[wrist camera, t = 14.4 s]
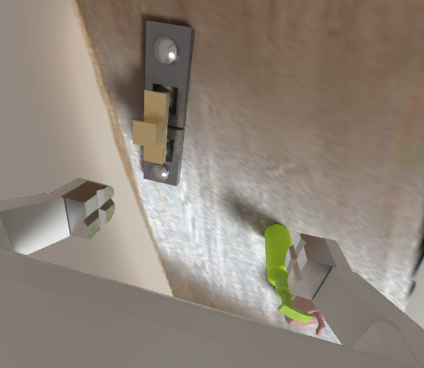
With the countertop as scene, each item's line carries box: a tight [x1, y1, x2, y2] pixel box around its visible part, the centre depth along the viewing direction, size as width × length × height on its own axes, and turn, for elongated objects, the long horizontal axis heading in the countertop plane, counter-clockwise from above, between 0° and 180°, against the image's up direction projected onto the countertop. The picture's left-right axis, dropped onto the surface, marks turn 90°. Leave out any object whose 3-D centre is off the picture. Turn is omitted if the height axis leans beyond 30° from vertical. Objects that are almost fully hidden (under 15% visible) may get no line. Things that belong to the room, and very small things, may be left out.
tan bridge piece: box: [133, 90, 175, 165], centre depth 40 cm, size 13×4×10 cm, turn 171°
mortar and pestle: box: [284, 296, 325, 336], centre depth 52 cm, size 12×12×11 cm
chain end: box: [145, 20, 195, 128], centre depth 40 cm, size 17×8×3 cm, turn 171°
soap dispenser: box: [264, 224, 313, 323], centre depth 43 cm, size 6×7×20 cm
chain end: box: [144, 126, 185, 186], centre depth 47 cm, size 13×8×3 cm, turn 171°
